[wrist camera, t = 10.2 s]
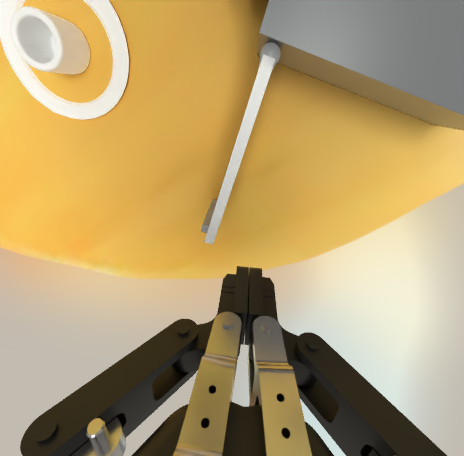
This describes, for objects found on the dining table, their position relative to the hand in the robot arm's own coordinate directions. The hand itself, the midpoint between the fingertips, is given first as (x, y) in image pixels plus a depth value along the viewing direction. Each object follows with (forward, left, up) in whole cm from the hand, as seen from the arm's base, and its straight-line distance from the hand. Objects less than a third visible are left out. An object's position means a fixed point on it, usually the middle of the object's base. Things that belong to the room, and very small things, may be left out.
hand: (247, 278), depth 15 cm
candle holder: (-21, +7, -16) cm, 27 cm away
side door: (-3, +5, -14) cm, 16 cm away
